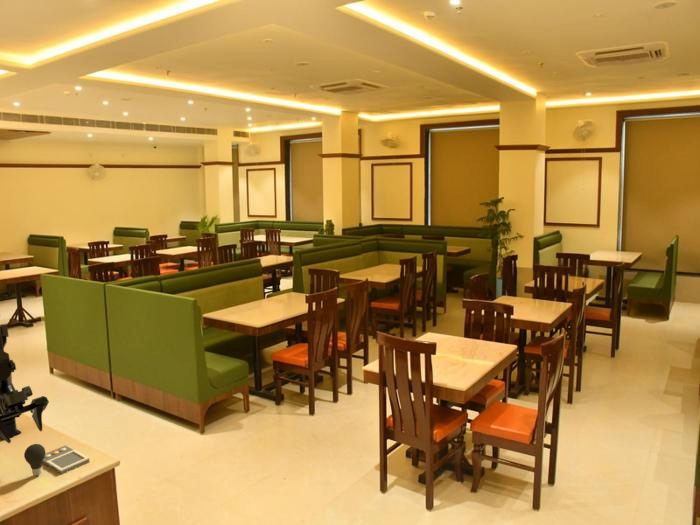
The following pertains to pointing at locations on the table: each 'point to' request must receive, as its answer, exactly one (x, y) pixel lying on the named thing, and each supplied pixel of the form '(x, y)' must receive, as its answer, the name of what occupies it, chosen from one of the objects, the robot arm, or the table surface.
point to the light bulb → (35, 457)
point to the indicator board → (64, 459)
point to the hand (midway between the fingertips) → (26, 436)
